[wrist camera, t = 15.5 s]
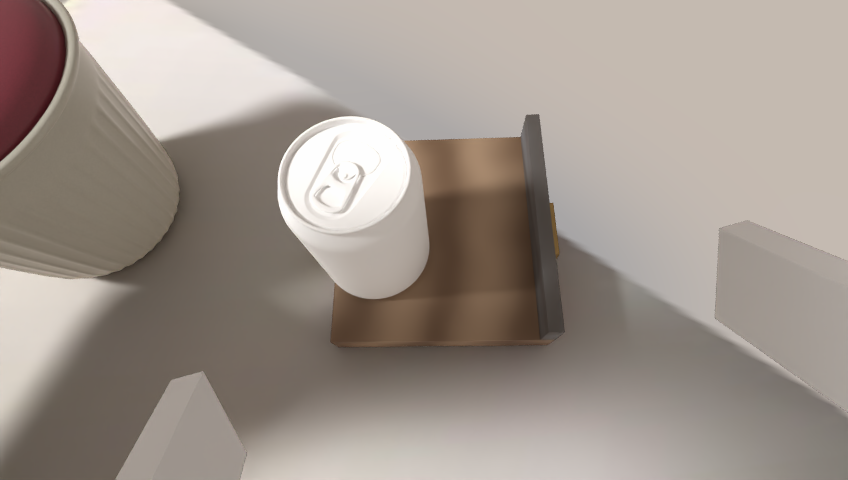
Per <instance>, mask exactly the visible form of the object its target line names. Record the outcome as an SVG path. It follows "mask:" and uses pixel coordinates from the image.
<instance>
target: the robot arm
mask: <svg viewBox="0 0 848 480" xmlns="http://www.w3.org/2000/svg"><path fill="white" fill-rule="evenodd" d="M718 245H719V246H718V264H717V284H716V285H717V286H716V305H715V319H717V320H718V321H720V322H721V323H722V324H724V325H725V326H727V327H728V328H729V329H731V330H732V331H734V332H735V333H737V334H738V335H739V336H741V337H742V338H743V339H745V340H746V341H748V342H749V343H750V344H752V345H753V346H755V347H756V348H758V349H759V350H760V351H762V352H763V353H764V354H766V355H767V356H769V357H770V358H771V359H773V360H774V361H776V362H777V363H779V364H780V365H781V366H783V367H784V368H786V369H787V370H788V371H790V372H791V373H793V374H794V375H795V376H797V377H798V378H800V379H801V380H802V381H804V382H805V383H807V384H808V385H809V386H811V387H812V388H814V389H815V390H816V391H818V392H819V393H821V394H822V395H824V396H825V397H826V398H828V399H829V400H831V401H832V402H833V403H835V404H836V405H838V406H839V407H840V408H842V409H843V410H845V411H846V412H847V413H848V261H846V260H844V259H841V258H839V257H836V256H834V255H831V254H829V253H826V252H824V251H822V250H819V249H817V248H814V247H812V246H809V245H807V244H804V243H802V242H799V241H797V240H794V239H792V238H790V237H787V236H785V235H782V234H780V233H777V232H775V231H772V230H770V229H767V228H765V227H762V226H760V225H757V224H755V223H753V222H750V221H744V222H740V223H736V224H733V225H729V226H725V227H722V228H719V244H718ZM246 455H247V452H246V450H245V448H244V446H243V445H242V443H241V441H240V439H239V437H238V435H237V433H236V431H235V430H234V428H233V426H232V424H231V422H230V420H229V418H228V416H227V415H226V413H225V411H224V409H223V407H222V405H221V403H220V401H219V400H218V398H217V396H216V394H215V392H214V390H213V388H212V386H211V385H210V383H209V381H208V379H207V377H206V375H205V373H204V371H201V372H198V373H194V374H191V375H187V376H183V377H180V378H176V379H173V380H171V381H170V383H169V384H168V386H167V388H166V390H165V392H164V393H163V395H162V397H161V399H160V400H159V402H158V404H157V406H156V408H155V409H154V411H153V413H152V415H151V417H150V418H149V420H148V422H147V424H146V425H145V427H144V429H143V431H142V433H141V434H140V436H139V438H138V440H137V441H136V443H135V445H134V447H133V449H132V450H131V452H130V454H129V456H128V457H127V459H126V461H125V463H124V465H123V466H122V468H121V470H120V472H119V473H118V475H117V477H116V479H115V480H240V477H241V474H242V470H243V466H244V462H245V459H246Z"/></svg>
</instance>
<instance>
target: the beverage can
mask: <svg viewBox="0 0 848 480" xmlns="http://www.w3.org/2000/svg"><path fill="white" fill-rule="evenodd" d="M278 202H279V207H280V211H281V213H282V216H283V218H284V220H285V222H286V224H287V225H288V227H289V228H290V229H291V231H292V232H293V233H294V234H295V235H296V237H297V238H298V239H299V240H300V241H301V242H302V244H303V245H304V246H305V247H306V248H307V250H308V251H309V252H310V253H311V254H312V256H313V257H314V258H315V259H316V260H317V261H318V263H319V264H320V265H321V266H322V267H323V269H324V270H325V271H326V272H327V273H328V275H329V276H330V277H331V278H332V279H333V280H334V282H335V283H336V284H337V285H338V286H339V287H340V288H342V289H343V290H345V291H346V292H348V293H350V294H352V295H354V296H357V297H360V298H365V299H382V298H387V297H391V296H394V295H396V294H398V293H400V292H402V291H404V290H405V289H407V288H408V287H409V286H411V285H412V284H413V283H414V282H415V281H416V280H417V279H418V277H419V276H420V275H421V273H422V272H423V270H424V268H425V266H426V263H427V260H428V256H429V235H428V226H427V218H426V209H425V201H424V192H423V183H422V175H421V170H420V166H419V164H418V161H417V159H416V157H415V155H414V153H413V152H412V150H411V149H410V148H409V146H408V145H407V144H406V143H405V142H404V141H403V140H402V139H401V138H400V137H399V136H398V135H397V134H396V133H395V132H394V131H393V130H391V129H390V128H389V127H387V126H386V125H384V124H382V123H380V122H378V121H375V120H372V119H369V118H364V117H357V116H345V117H337V118H332V119H329V120H326V121H323V122H320V123H318V124H316V125H314V126H312V127H311V128H309V129H307V130H306V131H305V132H303V133H302V134H301V135H300V136H299V137H297V138H296V139H295V141H294V142H293V143H292V144H291V145H290V147H289V148H288V149H287V151H286V153H285V154H284V156H283V159H282V161H281V164H280V167H279V172H278Z"/></svg>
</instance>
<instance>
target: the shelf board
mask: <svg viewBox="0 0 848 480" xmlns="http://www.w3.org/2000/svg"><path fill="white" fill-rule="evenodd" d="M404 142H405V143H406V144H407V145H408V146H409V148H410V149H411V150H412V152H413V153H414V155H415V157H416V159H417V161H418V164H419V166H420V170H421V175H422V183H423V192H424V201H425V209H426V218H427V226H428V235H429V256H428V260H427V263H426V266H425V268H424V270H423V272H422V273H421V275H420V276H419V277H418V279H417V280H416V281H415V282H414V283H413V284H412V285H411V286H409V287H408V288H407V289H405V290H404V291H402V292H400V293H398V294H396V295H394V296H391V297H387V298H382V299H365V298H360V297H357V296H354V295H352V294H350V293H348V292H346V291H345V290H343V289H342V288H340V287H339V286H338V285H337V284H336V283H335V288H334V301H333V314H332V328H331V341H330V342H331V343H333V344H334V345H336V346H337V347H405V346H514V345H548V344H550V343H551V342H552V341H554V340H555V339H556V338H558V337H559V336H560V335H562V334H563V333H564V332H565V331H564V322H563V314H562V305H561V297H560V288H559V280H558V271H557V263H556V259H557V257H558V256H559V246H558V238H557V230H556V222H555V213H554V205H553V203H549V195H548V186H547V178H546V169H545V161H544V152H543V144H542V136H541V127H540V119H539V114H538V115H537V114H536V115H526V118H525V122H524V126H523V130H522V133H521V137H513V138H483V139H482V138H480V139H448V140H418V141H417V140H416V141H404Z"/></svg>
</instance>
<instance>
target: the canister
mask: <svg viewBox="0 0 848 480" xmlns="http://www.w3.org/2000/svg"><path fill="white" fill-rule="evenodd" d="M179 192H180V187H179V184H178V175H177V173H176V171H175V167H174V164H173V162H172V160H171V159H170V157H169V156H168V154H167V153H166V151H165V149H164V148H163V146H162V145H161V144H160V142H159V141H158V140H157V138H156V137H155V136H154V134H153V133H152V132H151V130H150V129H149V128H148V126H147V125H146V124H145V122H144V121H143V120H142V118H141V117H140V116H139V114H138V113H137V112H136V111H135V109H134V108H133V107H132V106H131V104H130V103H129V102H128V100H127V99H126V98H125V97H124V95H123V94H122V93H121V92H120V91H119V89H118V88H117V87H116V86H115V84H114V83H113V82H112V81H111V79H110V78H109V77H108V76H107V74H106V73H105V72H104V70H103V69H102V68H101V67H100V65H99V64H98V63H97V62H96V60H95V59H94V58H93V57H92V55H91V54H90V53H89V52H88V51H87V49H86V48H85V47H84V46H83V45H82V43H81V42H80V41H79V37H78V33H77V30H76V27H75V24H74V22H73V19H72V17H71V15H70V14H69V12H68V11H67V9H66V8H65V7H64V5H63V4H62V3H61V2H60V1H59V0H0V267H1V268H6V269H11V270H16V271H22V272H27V273H32V274H38V275H43V276H49V277H58V278H65V279H79V278H94V277H97V276H105V275H108V274H110V273H112V272H116V271H120V270H122V269H123V268H124V267H126V266H130V265H132V264H134V262H136V261H137V260H139V259H141V258H143V257H144V256H145V254H146V253H148V252H149V251H151V250H153V248H154V246H155V245H156V244H157V243H158V242H160V241H161V240H162V237H163V236H164V234H165V233H166V232H168V229H169V227H170V225H171V223H172V222H173V221H174V215H175V213H176V212H177V205H178V202H179V199H180V198H179Z"/></svg>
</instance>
